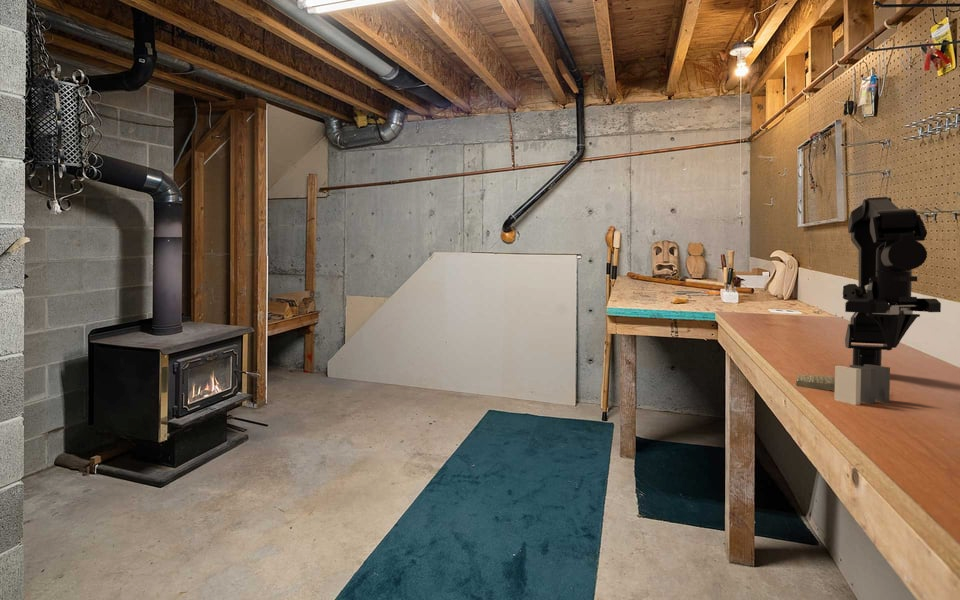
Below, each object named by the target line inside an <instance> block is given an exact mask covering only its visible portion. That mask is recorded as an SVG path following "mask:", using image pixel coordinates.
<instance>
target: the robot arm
mask: <svg viewBox="0 0 960 600" xmlns="http://www.w3.org/2000/svg"><path fill="white" fill-rule="evenodd" d="M849 215H850V216H849V218H848V222H847V232H848V234H850V241H851V243H852V244H853V245H854V246H855V248H856V249H857V250H858V278H857V279H858V280H857V281H858V283H857V284H858V285H857V284H856V283H848V284H846V285H843V289H842V299H843V300H845V303H844V305H845V306H844V309H845V310H844V311H845V313H853V314H852V316H851V317H850V319H849V320H850V321H849V322H850V323H848V324H847V327H846V331H845V332H846V333H845V337H844V343H845V344H844V345H845V348H847V349H852V365H857V366H864V364H870V365H877V366H882V353H883V351H882V350H885V351H892V350H893V349H895V348H897V347H898V345H899V344H900V342H901V341H902V339H903V338H904V336H905V335H906V333H907V332H908V330H909V329H910V327H911V326H912V325H913V323H914V322H915V321H916V319H917V318H920V316H921V314H919V313H918V314H917V313H914V312H925V313H926V312H928V313H941V311H942V309H941V308H942V307H941V306H942V303H941V302H940V301H939V300H938V299H937V298H928V297H927V298H925V297H924V298H923V297H921V298H919V297H917V296H912V282H918V276H917V275H916V276H915V275H914V276H913V274H912V271H913V270H914V269H918V268H919V267H921V266H922V265H923V264H924V263H925V262H926V260H927V257H928V251H927V249H926V247H925V246H924V245H923V244H922V243H921V242H924V241H926V238H927V235H928V231H927V229H926V225H925V223H924V220H923V219H922V218H921V215H920V214H918V212H917V211H916V209H915V208H899V207H898V206H897V205H896V204H894V202H892V198H891V197H888V196H881V197H880V196H879V197H877V196H876V197H867V198H865V199H862V203H861V204H860V205H859V206H857V207H856V208H854V209H853V210H852V211H851V212H850V214H849ZM854 343H855V344H854Z"/></svg>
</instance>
